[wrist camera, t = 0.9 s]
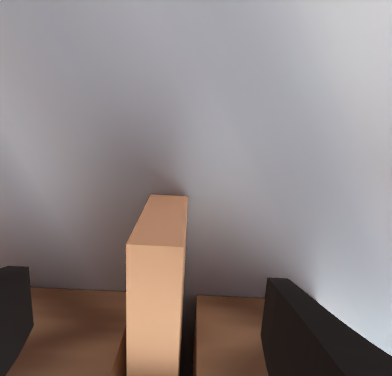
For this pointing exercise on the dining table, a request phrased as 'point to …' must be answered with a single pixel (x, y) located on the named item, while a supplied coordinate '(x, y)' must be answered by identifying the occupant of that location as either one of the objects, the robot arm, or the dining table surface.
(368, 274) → the dining table surface
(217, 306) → the wooden block
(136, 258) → the tall wooden plank
